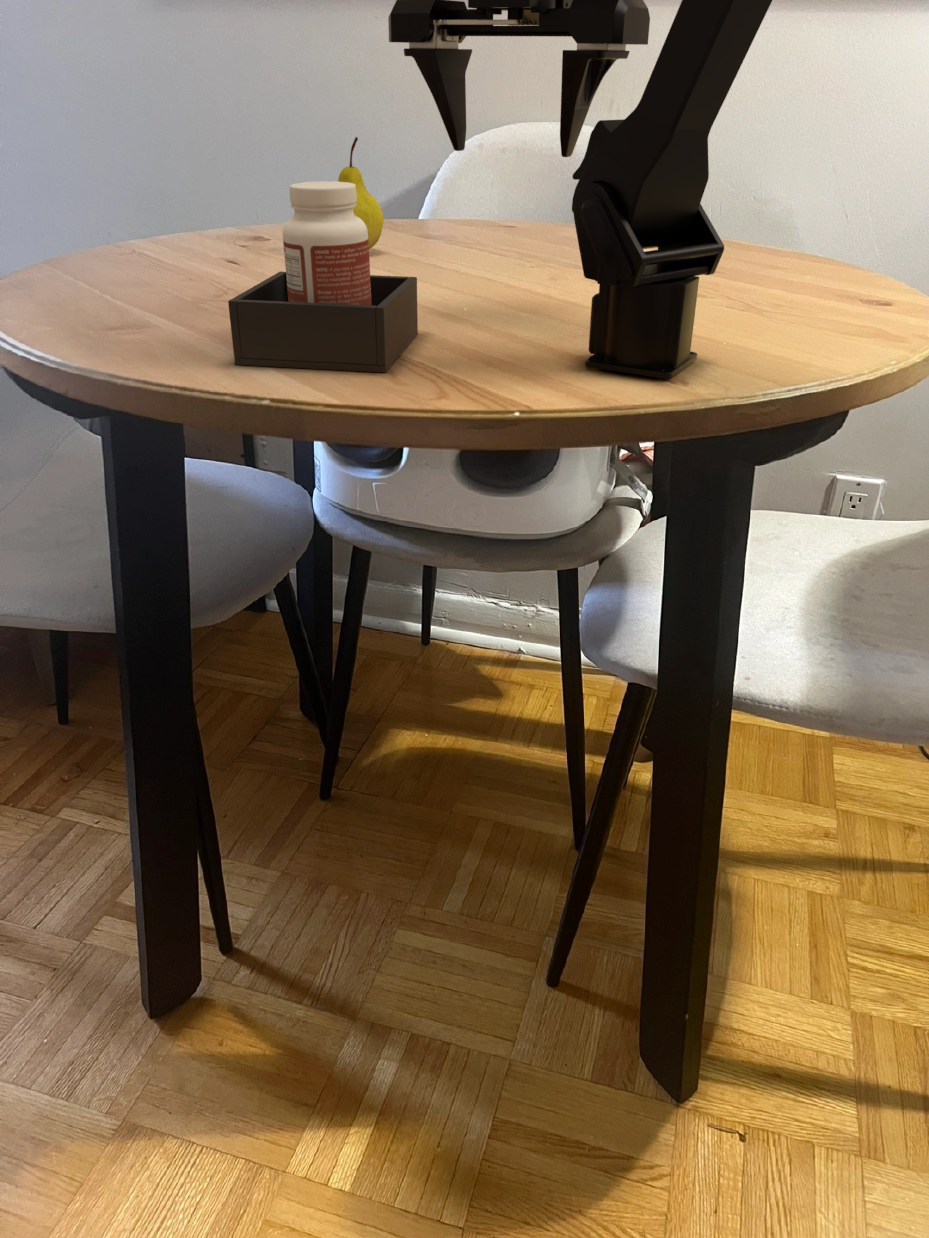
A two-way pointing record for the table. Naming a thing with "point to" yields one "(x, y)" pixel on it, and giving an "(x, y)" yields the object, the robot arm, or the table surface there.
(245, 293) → the black open box
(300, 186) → the pill bottle
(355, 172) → the fruit
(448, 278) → the table surface
